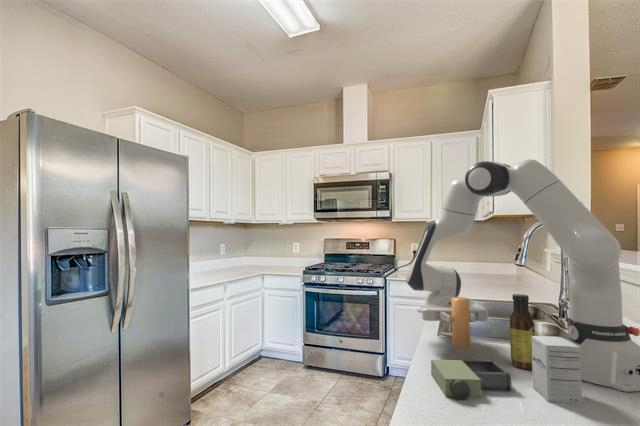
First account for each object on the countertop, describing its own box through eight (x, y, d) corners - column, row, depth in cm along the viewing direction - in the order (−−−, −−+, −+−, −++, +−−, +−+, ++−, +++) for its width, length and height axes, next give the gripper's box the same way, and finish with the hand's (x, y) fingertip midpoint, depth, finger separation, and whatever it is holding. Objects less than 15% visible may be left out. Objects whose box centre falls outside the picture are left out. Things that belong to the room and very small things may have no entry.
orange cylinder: (466, 343, 105) (465, 297, 106) (473, 348, 100) (472, 300, 101) (450, 343, 105) (449, 296, 106) (455, 348, 100) (454, 300, 101)
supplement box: (531, 387, 84) (530, 335, 85) (564, 389, 83) (563, 336, 84) (547, 402, 77) (545, 344, 78) (583, 404, 76) (581, 346, 77)
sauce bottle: (540, 371, 94) (538, 297, 95) (515, 369, 95) (513, 296, 96) (530, 362, 100) (528, 293, 102) (507, 360, 102) (505, 292, 103)
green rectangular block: (461, 375, 91) (461, 360, 91) (483, 400, 77) (483, 382, 78) (431, 374, 91) (431, 359, 91) (447, 399, 78) (447, 381, 78)
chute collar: (494, 375, 91) (493, 360, 91) (511, 391, 82) (510, 374, 82) (461, 374, 91) (461, 359, 92) (474, 390, 82) (474, 373, 83)
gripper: (415, 299, 117) (426, 308, 103) (477, 299, 116) (496, 308, 102) (415, 318, 116) (426, 329, 103) (477, 318, 115) (496, 330, 102)
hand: (461, 319), depth 102 cm, fingers closed on orange cylinder, 5 cm apart
